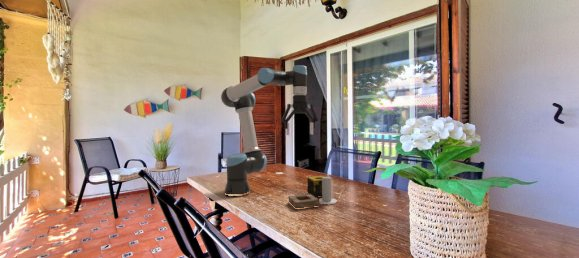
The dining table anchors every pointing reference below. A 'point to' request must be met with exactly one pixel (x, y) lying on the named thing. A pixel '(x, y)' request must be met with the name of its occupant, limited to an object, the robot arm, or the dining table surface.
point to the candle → (315, 185)
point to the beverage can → (326, 189)
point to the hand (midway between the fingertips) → (299, 134)
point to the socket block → (303, 201)
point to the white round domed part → (328, 202)
